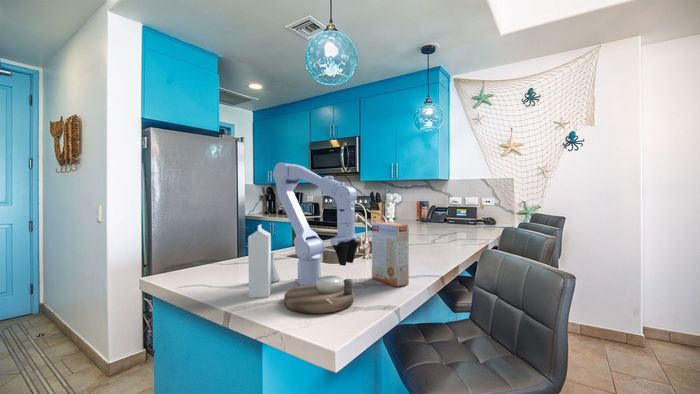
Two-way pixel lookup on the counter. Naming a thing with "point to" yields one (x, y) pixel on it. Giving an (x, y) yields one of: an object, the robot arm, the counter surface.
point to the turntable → (318, 299)
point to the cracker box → (390, 253)
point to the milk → (259, 263)
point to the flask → (274, 271)
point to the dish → (329, 284)
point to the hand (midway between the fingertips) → (346, 263)
